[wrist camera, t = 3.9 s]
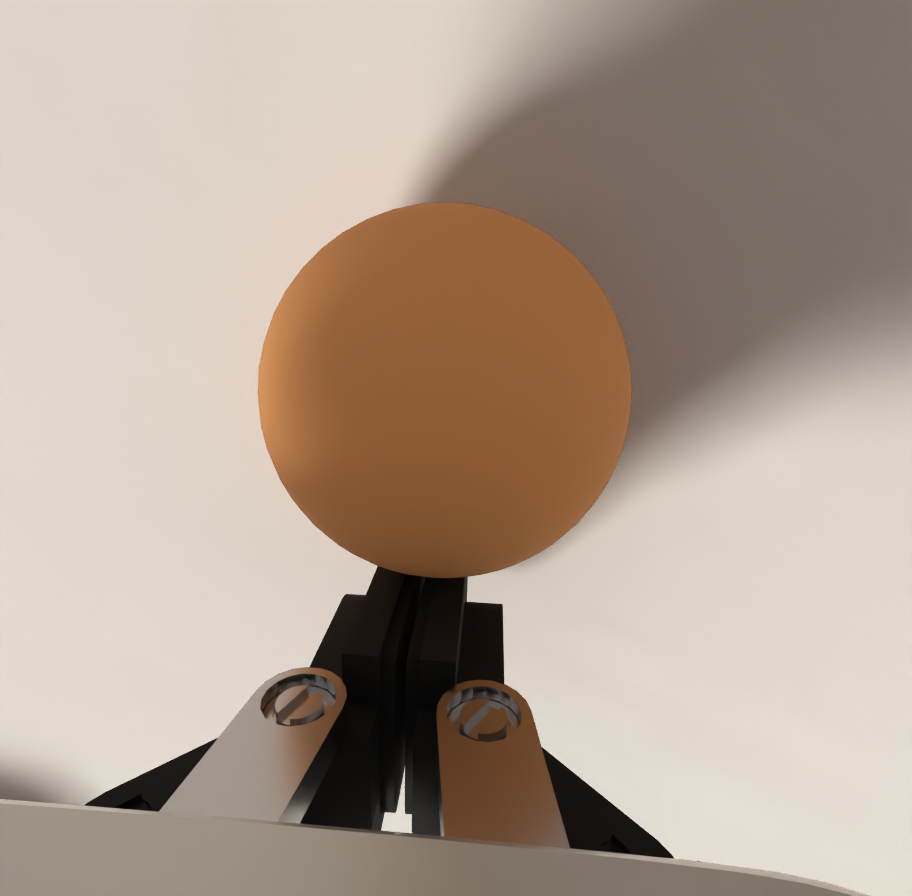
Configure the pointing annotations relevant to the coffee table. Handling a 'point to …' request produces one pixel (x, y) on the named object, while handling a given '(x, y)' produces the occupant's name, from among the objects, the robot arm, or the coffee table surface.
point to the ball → (444, 390)
